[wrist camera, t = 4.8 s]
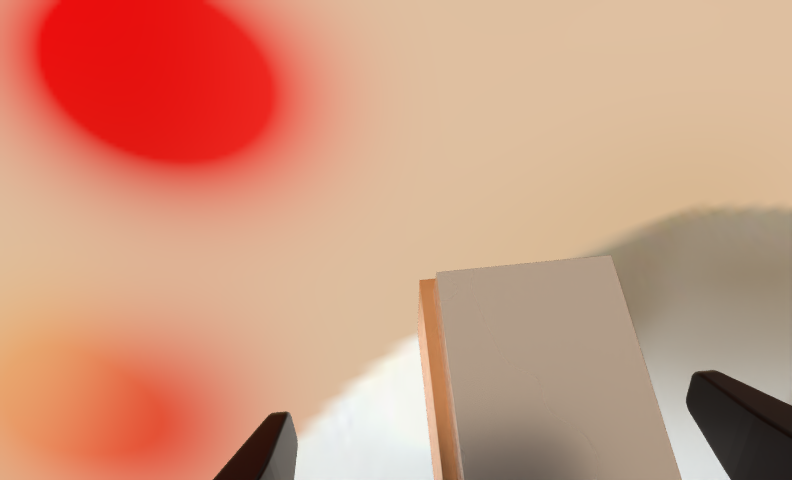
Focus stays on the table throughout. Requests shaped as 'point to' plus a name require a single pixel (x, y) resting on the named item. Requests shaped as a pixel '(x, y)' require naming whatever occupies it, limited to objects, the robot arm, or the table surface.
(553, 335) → the banded grey brick
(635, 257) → the table surface
